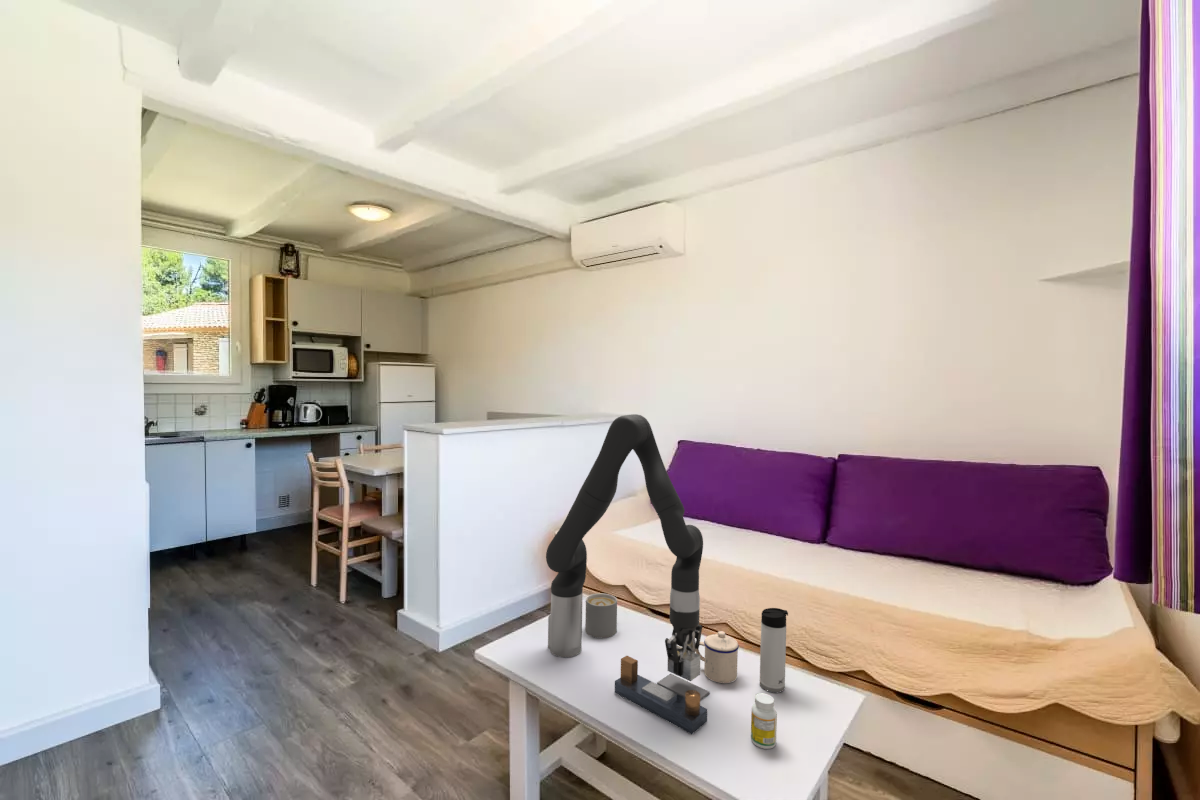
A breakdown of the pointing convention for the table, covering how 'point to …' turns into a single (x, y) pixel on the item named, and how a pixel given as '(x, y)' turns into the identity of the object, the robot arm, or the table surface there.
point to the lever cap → (688, 665)
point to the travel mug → (773, 649)
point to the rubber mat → (681, 686)
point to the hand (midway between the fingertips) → (683, 670)
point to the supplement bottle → (763, 721)
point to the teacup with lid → (720, 657)
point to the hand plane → (660, 698)
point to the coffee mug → (601, 615)
